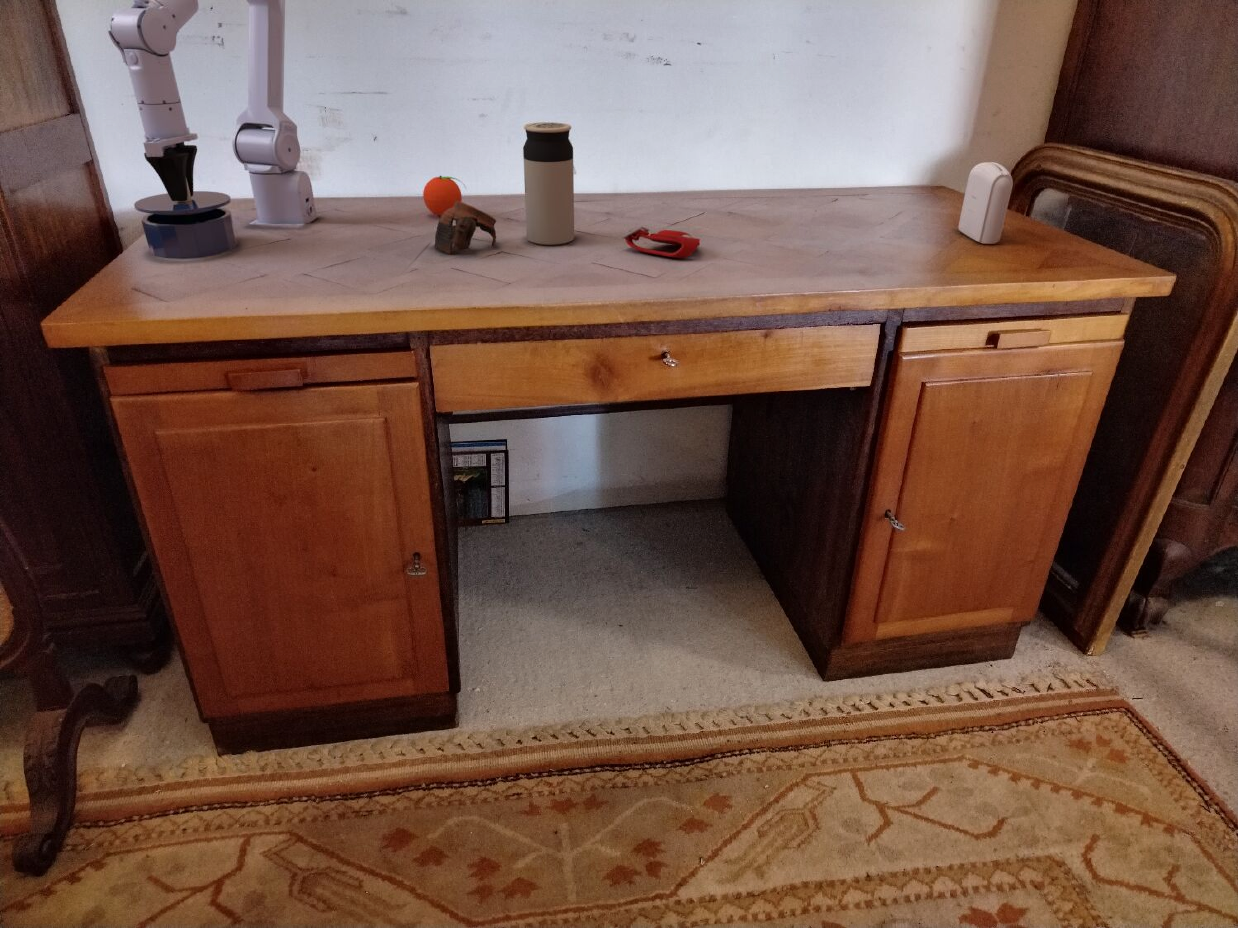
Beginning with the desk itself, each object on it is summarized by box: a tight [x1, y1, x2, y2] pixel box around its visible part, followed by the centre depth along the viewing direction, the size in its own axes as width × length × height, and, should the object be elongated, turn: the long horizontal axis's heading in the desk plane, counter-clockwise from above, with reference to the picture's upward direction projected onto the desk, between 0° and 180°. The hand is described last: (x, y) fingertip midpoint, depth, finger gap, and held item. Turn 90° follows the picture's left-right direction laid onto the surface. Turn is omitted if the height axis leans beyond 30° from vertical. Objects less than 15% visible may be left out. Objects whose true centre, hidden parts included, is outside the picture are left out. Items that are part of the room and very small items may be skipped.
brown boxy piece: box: [433, 201, 497, 255], centre depth 132 cm, size 12×9×8 cm
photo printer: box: [957, 161, 1014, 245], centre depth 142 cm, size 10×4×12 cm, turn 2°
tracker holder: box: [621, 225, 701, 259], centre depth 132 cm, size 12×4×10 cm
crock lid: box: [133, 178, 232, 215], centre depth 126 cm, size 13×13×4 cm
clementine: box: [422, 175, 467, 217], centre depth 151 cm, size 8×7×7 cm
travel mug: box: [522, 121, 575, 246], centre depth 135 cm, size 8×8×18 cm
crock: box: [141, 207, 238, 260], centre depth 129 cm, size 12×12×6 cm
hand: (182, 198), depth 127 cm, fingers closed on crock lid, 2 cm apart
